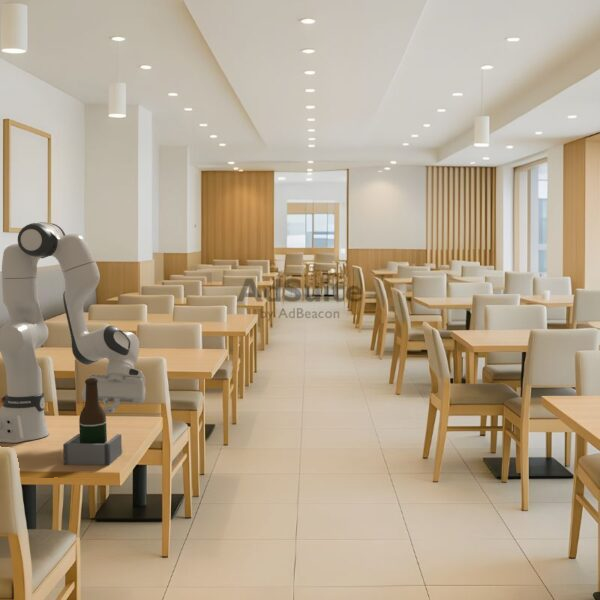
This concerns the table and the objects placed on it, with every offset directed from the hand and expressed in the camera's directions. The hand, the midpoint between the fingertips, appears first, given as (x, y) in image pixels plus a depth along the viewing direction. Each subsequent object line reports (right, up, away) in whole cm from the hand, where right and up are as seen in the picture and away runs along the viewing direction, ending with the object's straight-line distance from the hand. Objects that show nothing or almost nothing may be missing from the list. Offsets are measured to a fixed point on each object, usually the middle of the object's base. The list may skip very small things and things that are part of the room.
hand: (108, 411), depth 253 cm
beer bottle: (-1, -12, -16) cm, 20 cm away
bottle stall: (-1, -12, -16) cm, 20 cm away
